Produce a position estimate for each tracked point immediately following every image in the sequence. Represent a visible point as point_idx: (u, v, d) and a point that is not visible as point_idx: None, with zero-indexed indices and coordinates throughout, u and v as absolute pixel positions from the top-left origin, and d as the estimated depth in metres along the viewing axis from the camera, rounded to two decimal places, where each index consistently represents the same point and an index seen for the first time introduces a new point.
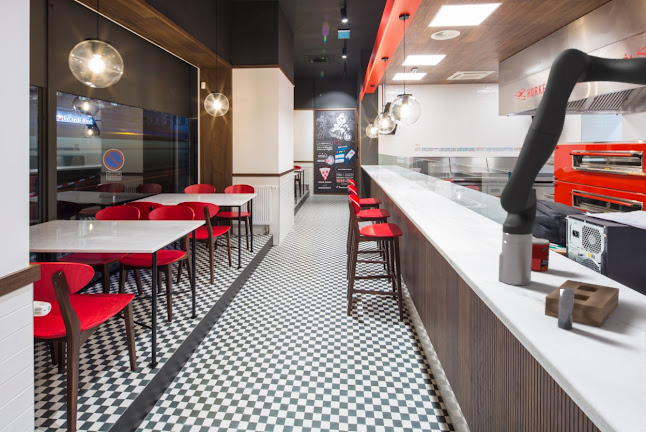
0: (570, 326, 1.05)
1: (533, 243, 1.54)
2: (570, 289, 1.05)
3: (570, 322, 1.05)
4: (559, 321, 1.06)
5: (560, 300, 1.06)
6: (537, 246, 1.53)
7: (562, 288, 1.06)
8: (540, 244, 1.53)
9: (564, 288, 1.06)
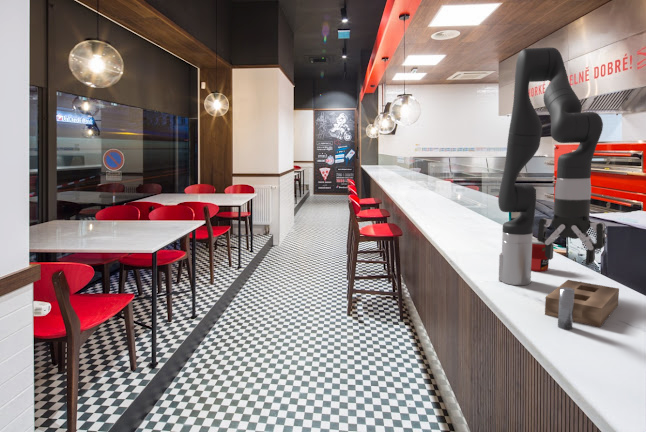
0: (570, 326, 1.05)
1: (533, 243, 1.54)
2: (570, 289, 1.05)
3: (570, 322, 1.05)
4: (559, 321, 1.06)
5: (560, 300, 1.06)
6: (537, 246, 1.53)
7: (562, 288, 1.06)
8: (540, 244, 1.53)
9: (564, 288, 1.06)
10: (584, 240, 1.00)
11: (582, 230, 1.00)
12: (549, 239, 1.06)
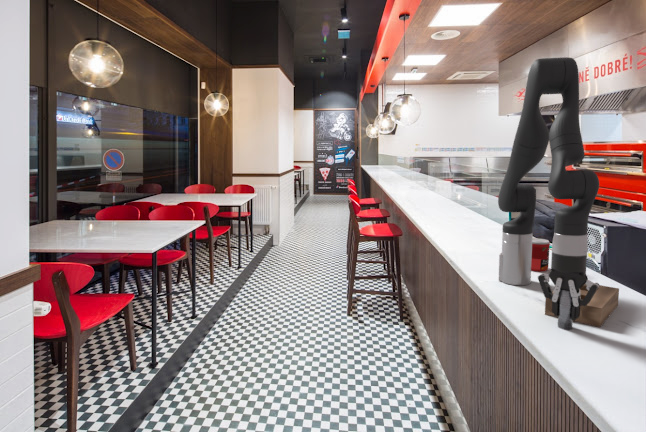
0: (570, 326, 1.05)
1: (533, 243, 1.54)
2: None
3: (570, 322, 1.05)
4: (559, 321, 1.06)
5: (560, 300, 1.06)
6: (537, 246, 1.53)
7: None
8: (540, 244, 1.53)
9: None
10: (574, 296, 1.03)
11: (577, 287, 1.03)
12: (554, 296, 1.07)
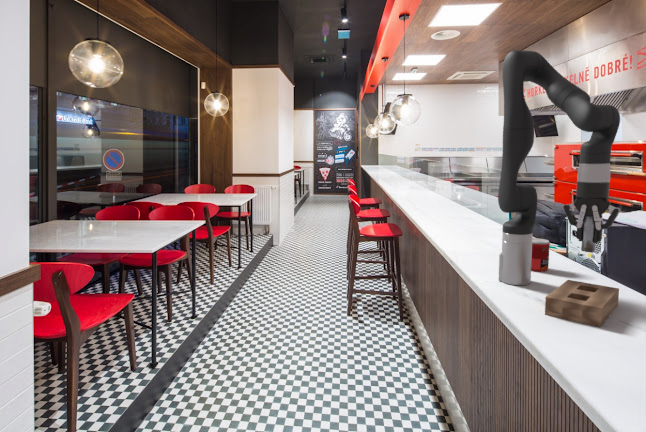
0: (593, 249, 1.16)
1: (533, 243, 1.54)
2: None
3: (593, 245, 1.16)
4: (583, 245, 1.17)
5: (584, 225, 1.17)
6: (537, 246, 1.53)
7: None
8: (540, 244, 1.53)
9: None
10: (597, 220, 1.14)
11: (600, 212, 1.14)
12: (579, 222, 1.17)
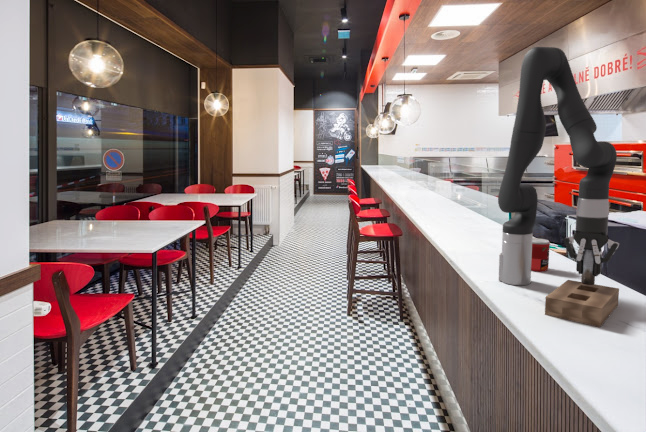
0: (593, 282, 1.18)
1: (533, 243, 1.54)
2: None
3: (593, 278, 1.18)
4: (583, 278, 1.19)
5: (583, 258, 1.19)
6: (537, 246, 1.53)
7: None
8: (540, 244, 1.53)
9: None
10: (596, 254, 1.16)
11: (599, 246, 1.16)
12: (579, 255, 1.19)
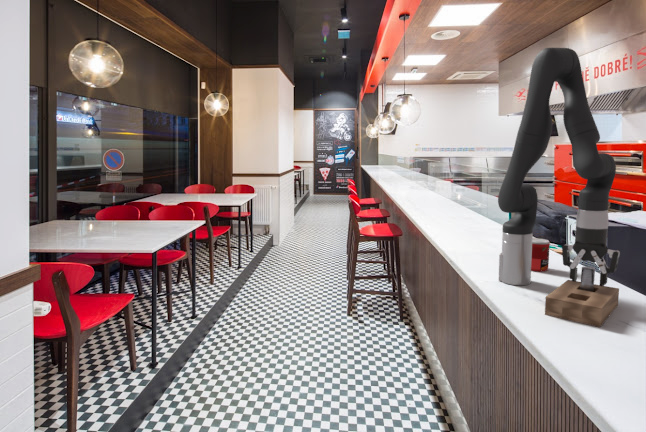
0: None
1: (533, 243, 1.54)
2: (591, 268, 1.19)
3: None
4: None
5: (582, 277, 1.19)
6: (537, 246, 1.53)
7: (584, 267, 1.20)
8: (540, 244, 1.53)
9: (586, 267, 1.20)
10: (600, 264, 1.16)
11: (600, 256, 1.16)
12: (573, 263, 1.21)
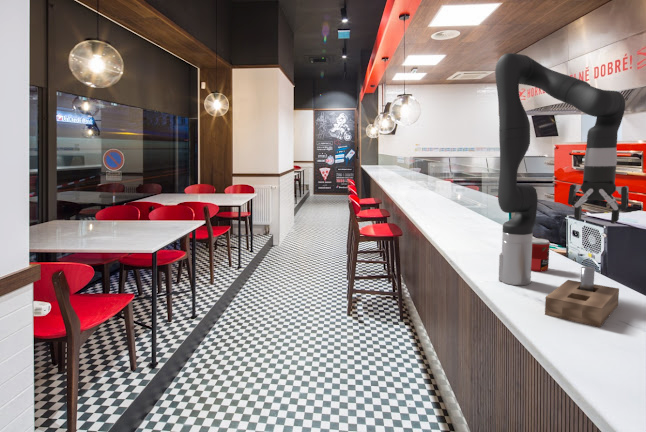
0: None
1: (533, 243, 1.54)
2: (591, 268, 1.19)
3: None
4: None
5: (582, 277, 1.20)
6: (537, 246, 1.53)
7: (583, 267, 1.20)
8: (540, 244, 1.53)
9: (585, 267, 1.20)
10: (610, 201, 1.15)
11: (608, 193, 1.16)
12: (578, 202, 1.21)
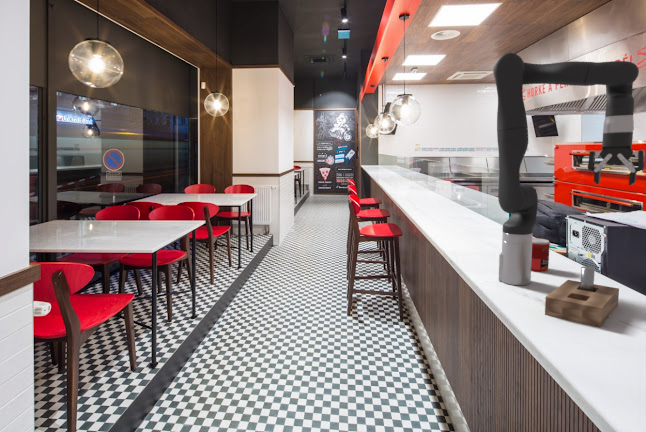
0: None
1: (533, 243, 1.54)
2: (591, 268, 1.19)
3: None
4: None
5: (582, 277, 1.20)
6: (537, 246, 1.53)
7: (583, 267, 1.20)
8: (540, 244, 1.53)
9: (585, 267, 1.20)
10: (628, 165, 1.26)
11: (626, 157, 1.26)
12: (598, 167, 1.32)
